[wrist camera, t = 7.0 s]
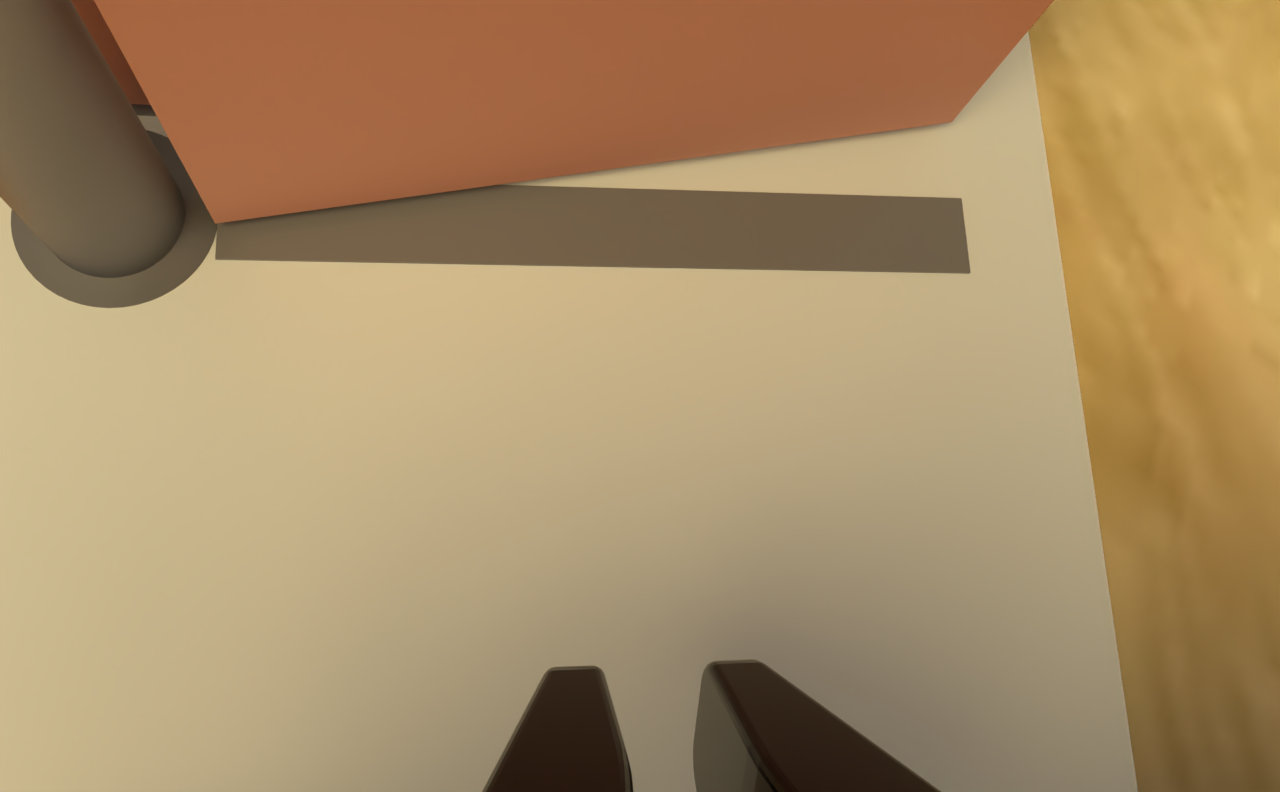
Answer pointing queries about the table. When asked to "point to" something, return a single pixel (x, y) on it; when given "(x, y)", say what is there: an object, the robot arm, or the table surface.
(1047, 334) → the card
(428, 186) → the fence panel
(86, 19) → the fixed fence
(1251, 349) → the table surface
